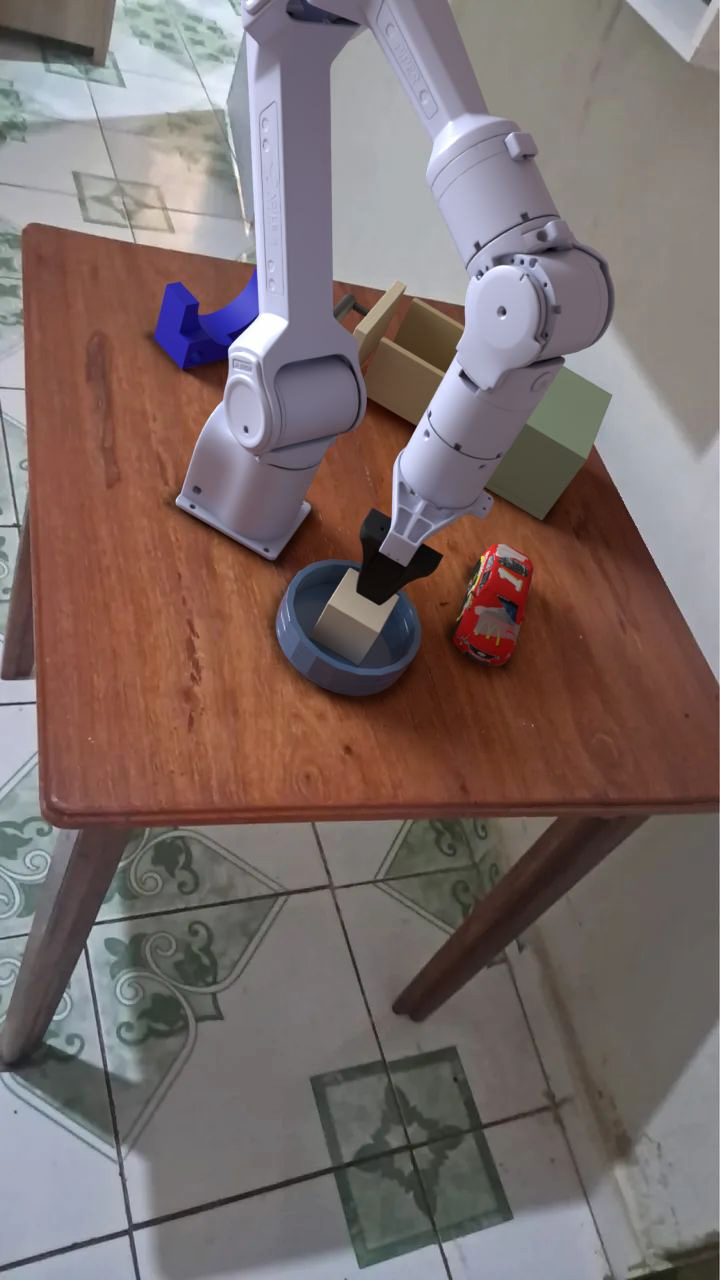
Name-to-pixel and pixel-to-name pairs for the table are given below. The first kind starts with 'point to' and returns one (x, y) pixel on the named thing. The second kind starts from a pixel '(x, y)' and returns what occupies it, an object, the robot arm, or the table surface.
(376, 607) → the block
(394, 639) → the bowl
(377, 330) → the drawer
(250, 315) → the cable clip
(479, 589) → the race car
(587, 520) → the table surface
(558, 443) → the cabinet
